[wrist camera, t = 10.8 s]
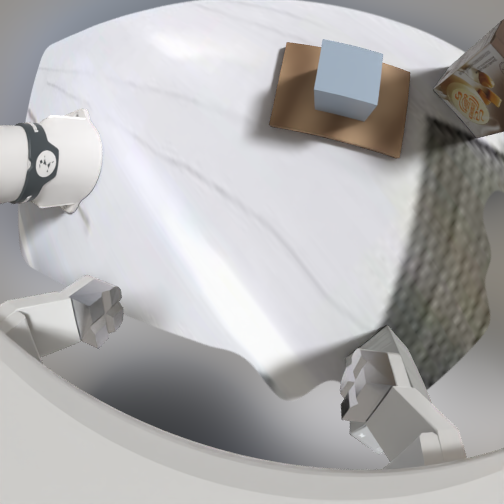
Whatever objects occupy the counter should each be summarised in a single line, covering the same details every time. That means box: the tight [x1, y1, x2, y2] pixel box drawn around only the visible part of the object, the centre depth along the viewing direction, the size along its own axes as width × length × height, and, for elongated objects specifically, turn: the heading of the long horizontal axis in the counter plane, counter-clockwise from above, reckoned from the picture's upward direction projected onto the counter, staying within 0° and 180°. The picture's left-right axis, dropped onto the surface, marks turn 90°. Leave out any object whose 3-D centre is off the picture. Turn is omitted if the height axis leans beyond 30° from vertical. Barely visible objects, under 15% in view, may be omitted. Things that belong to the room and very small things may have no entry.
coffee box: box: [433, 20, 504, 138], centre depth 16 cm, size 9×6×16 cm
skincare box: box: [345, 326, 432, 454], centre depth 28 cm, size 8×7×16 cm
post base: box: [269, 42, 410, 158], centre depth 25 cm, size 16×12×7 cm
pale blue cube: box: [314, 39, 383, 122], centre depth 23 cm, size 6×6×8 cm
